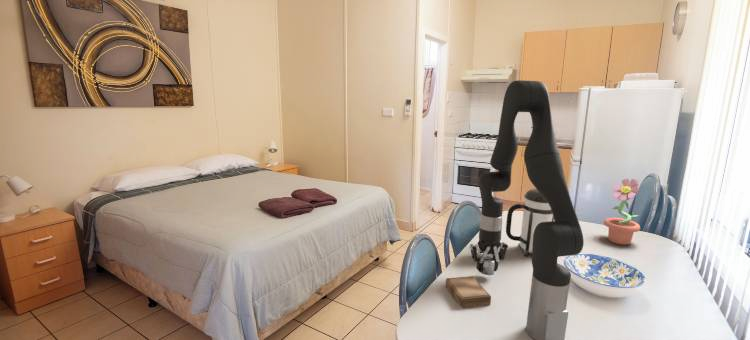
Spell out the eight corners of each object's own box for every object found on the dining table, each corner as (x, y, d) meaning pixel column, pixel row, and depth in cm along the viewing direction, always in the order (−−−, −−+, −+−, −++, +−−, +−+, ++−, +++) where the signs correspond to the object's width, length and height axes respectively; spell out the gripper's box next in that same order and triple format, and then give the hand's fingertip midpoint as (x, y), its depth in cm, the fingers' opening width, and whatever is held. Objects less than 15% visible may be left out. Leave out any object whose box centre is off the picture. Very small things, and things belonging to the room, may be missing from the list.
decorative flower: (592, 236, 173) (601, 175, 167) (616, 234, 176) (627, 174, 170) (618, 249, 159) (630, 183, 153) (644, 247, 162) (656, 182, 155)
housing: (496, 274, 129) (497, 260, 128) (483, 275, 128) (484, 261, 127) (489, 268, 134) (490, 255, 133) (477, 269, 133) (478, 255, 132)
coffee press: (527, 241, 165) (534, 178, 159) (560, 255, 152) (570, 186, 145) (502, 249, 156) (509, 183, 149) (536, 264, 143) (545, 192, 136)
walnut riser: (490, 304, 115) (491, 296, 114) (461, 307, 113) (461, 298, 112) (472, 283, 127) (472, 275, 127) (445, 286, 125) (446, 278, 125)
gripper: (476, 231, 123) (473, 277, 126) (514, 229, 125) (510, 274, 129) (467, 224, 130) (464, 267, 133) (503, 222, 133) (499, 265, 136)
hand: (487, 270), depth 131 cm, fingers closed on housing, 5 cm apart
